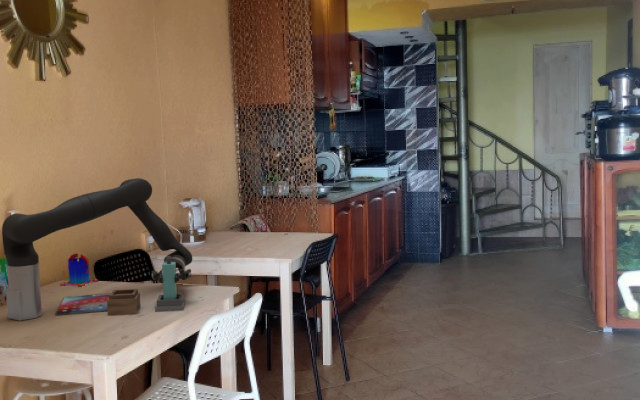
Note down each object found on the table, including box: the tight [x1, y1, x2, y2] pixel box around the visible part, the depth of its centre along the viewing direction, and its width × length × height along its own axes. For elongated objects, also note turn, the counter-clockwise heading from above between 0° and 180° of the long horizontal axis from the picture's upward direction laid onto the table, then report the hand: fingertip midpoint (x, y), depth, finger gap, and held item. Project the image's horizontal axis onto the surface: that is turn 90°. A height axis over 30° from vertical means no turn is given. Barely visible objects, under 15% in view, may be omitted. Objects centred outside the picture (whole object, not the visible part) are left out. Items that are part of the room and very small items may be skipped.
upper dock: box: [107, 288, 142, 316], centre depth 211 cm, size 9×9×6 cm
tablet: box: [54, 292, 112, 316], centre depth 221 cm, size 19×25×1 cm
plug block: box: [161, 255, 178, 300], centre depth 214 cm, size 4×4×14 cm
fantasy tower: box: [59, 253, 100, 288], centre depth 251 cm, size 12×12×12 cm
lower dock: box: [154, 293, 186, 313], centre depth 215 cm, size 9×9×4 cm
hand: (168, 280), depth 211 cm, fingers closed on plug block, 4 cm apart
